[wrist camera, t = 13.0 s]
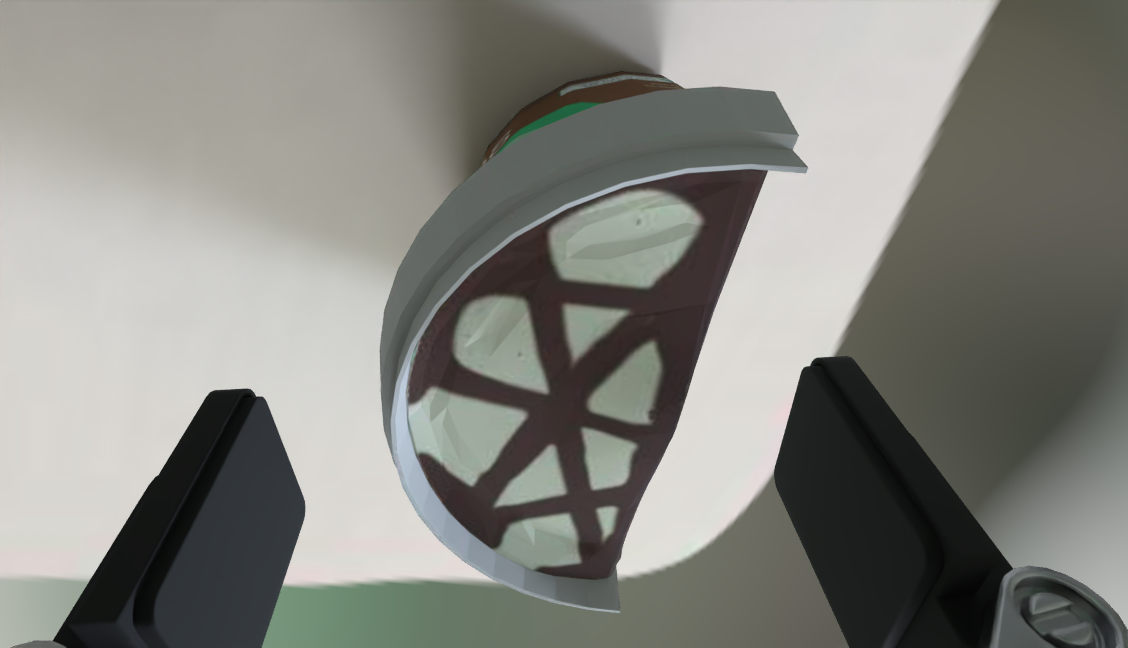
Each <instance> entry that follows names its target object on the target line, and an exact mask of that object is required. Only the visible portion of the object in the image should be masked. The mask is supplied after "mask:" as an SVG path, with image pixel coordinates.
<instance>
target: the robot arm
mask: <svg viewBox="0 0 1128 648" xmlns="http://www.w3.org/2000/svg"><path fill="white" fill-rule="evenodd" d="M774 478H775V484H776V487H777V490H778V492H779V494H780V497H781V499H782V501H783V503H784V505H785V508H786V510H787V512H788V514H789V516H790V518H791V521H792V523H793V525H794V527H795V529H796V532H797V534H798V536H799V538H800V540H801V543H802V545H803V547H804V549H805V551H806V554H807V556H808V558H809V560H810V562H811V565H812V567H813V569H814V571H815V573H816V575H817V578H818V580H819V582H820V584H821V586H822V589H823V591H824V593H825V595H826V597H827V599H828V602H829V604H830V606H831V608H832V611H833V613H834V615H835V617H836V619H837V621H838V624H839V626H840V628H841V630H842V632H843V635H844V637H845V639H846V641H847V643H848V646H849V648H1128V629H1127V628H1126V626H1125V624H1124V623H1123V621H1122V620H1121V618H1120V616H1119V615H1118V614H1117V613H1116V612H1115V611H1114V609H1113V608H1112V607H1111V606H1110V605H1109V604H1108V603H1107V602H1106V601H1105V600H1104V599H1103V598H1102V597H1100V596H1099V595H1098V594H1096V593H1095V592H1094V591H1093V590H1091V589H1090V588H1089V587H1087V586H1086V585H1084V584H1082V583H1081V582H1079V581H1077V580H1075V579H1073V578H1071V577H1069V576H1067V575H1065V574H1063V573H1060V572H1057V571H1054V570H1051V569H1048V568H1042V567H1034V566H1026V567H1019V568H1014V569H1013V568H1012V567H1011V565H1010V564H1009V563H1008V561H1007V560H1006V559H1005V558H1004V556H1003V555H1002V554H1001V552H1000V551H999V550H998V548H997V547H996V546H995V544H994V543H993V542H992V540H991V539H990V538H989V536H988V535H987V534H986V532H985V531H984V530H983V528H982V527H981V526H980V524H979V523H978V522H977V520H976V519H975V518H974V517H973V515H972V514H971V513H970V511H969V510H968V509H967V507H966V506H965V505H964V503H963V502H962V501H961V499H960V498H959V497H958V495H957V494H956V493H955V491H954V490H953V489H952V487H951V486H950V485H949V483H948V482H947V481H946V479H945V478H944V477H943V476H942V474H941V473H940V471H939V470H938V469H937V467H936V466H935V465H934V464H933V462H932V461H931V460H930V458H929V457H928V456H927V454H926V453H925V452H924V451H923V449H922V448H921V447H920V445H919V444H918V442H917V441H916V440H915V438H914V437H913V436H912V435H911V434H910V433H909V432H908V431H907V430H906V428H905V427H904V426H903V424H902V423H901V422H900V420H899V419H898V418H897V416H896V415H895V414H894V412H893V411H892V410H891V408H890V407H889V406H888V404H887V403H886V402H885V400H884V399H883V398H882V396H881V395H880V394H879V392H878V391H877V390H876V388H875V387H874V386H873V384H872V383H871V382H870V380H869V379H868V378H867V376H866V375H865V374H864V372H863V371H862V370H861V369H860V367H859V366H858V365H857V363H856V362H855V361H854V360H853V359H852V358H851V357H848V356H844V357H843V356H841V357H823V358H815V359H814V360H813V361H812V363H811V365H810V366H807V367H804V368H803V370H802V372H801V375H800V379H799V382H798V386H797V390H796V393H795V397H794V400H793V404H792V408H791V411H790V415H789V418H788V422H787V426H786V429H785V433H784V436H783V440H782V444H781V447H780V451H779V455H778V458H777V462H776V465H775V470H774ZM304 517H305V501H304V497H303V495H302V492H301V489H300V487H299V484H298V482H297V479H296V476H295V474H294V471H293V469H292V466H291V464H290V461H289V458H288V456H287V453H286V451H285V448H284V445H283V443H282V440H281V438H280V435H279V433H278V430H277V427H276V425H275V422H274V420H273V417H272V415H271V412H270V409H269V407H268V404H267V402H266V400H265V399H264V398H263V397H256V395H255V393H254V392H253V391H252V390H251V389H231V390H214V391H212V392H210V393H209V394H208V396H207V397H206V398H205V400H204V402H203V403H202V405H201V407H200V408H199V410H198V411H197V413H196V415H195V416H194V418H193V420H192V421H191V423H190V425H189V426H188V428H187V429H186V431H185V433H184V434H183V436H182V438H181V439H180V441H179V443H178V444H177V446H176V447H175V449H174V451H173V452H172V454H171V456H170V457H169V459H168V461H167V462H166V464H165V465H164V467H163V469H162V470H161V472H160V474H159V475H158V476H156V477H155V478H154V480H153V481H152V482H151V483H150V484H149V486H148V487H147V489H146V491H145V492H144V494H143V495H142V497H141V499H140V500H139V502H138V504H137V505H136V507H135V508H134V510H133V512H132V513H131V515H130V517H129V518H128V520H127V521H126V523H125V525H124V526H123V528H122V529H121V531H120V533H119V534H118V536H117V538H116V539H115V541H114V542H113V544H112V546H111V547H110V549H109V551H108V552H107V554H106V555H105V557H104V559H103V560H102V562H101V563H100V565H99V567H98V568H97V570H96V572H95V573H94V575H93V576H92V578H91V580H90V581H89V583H88V585H87V586H86V588H85V589H84V591H83V593H82V594H81V596H80V598H79V599H78V601H77V602H76V604H75V606H74V607H73V609H72V611H71V612H70V614H69V615H68V617H67V619H66V620H65V622H64V623H63V625H62V627H61V628H60V630H59V632H58V633H57V635H56V636H55V638H54V640H53V641H32V642H28V643H24V644H20V645H17V646H13V647H11V648H261V647H262V644H263V641H264V638H265V635H266V632H267V629H268V626H269V623H270V620H271V617H272V614H273V611H274V608H275V605H276V602H277V599H278V596H279V593H280V590H281V587H282V584H283V581H284V578H285V575H286V572H287V569H288V566H289V563H290V560H291V557H292V554H293V551H294V548H295V545H296V542H297V539H298V536H299V533H300V530H301V527H302V524H303V521H304Z"/></svg>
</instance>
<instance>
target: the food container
mask: <svg viewBox="0 0 1128 648" xmlns="http://www.w3.org/2000/svg"><path fill="white" fill-rule="evenodd" d="M798 136H799V135H798V133H797V131H796V130H795V128H794V126H793V124H792V122H791V120H790V119H789V117H788V115H787V113H786V111H785V110H784V108H783V106H782V104H781V102H780V101H779V99H778V97H777V95H776V93H775V92H772V91H761V90H750V89H739V88H728V87H706V88H691V89H684V88H683V87H681V86H679V85H678V84H676V83H674V82H673V81H671V80H669V79H667V78H666V77H664V76H662V75H655V74H644V73H633V72H623V71H621V72H616V73H611V74H606V75H601V76H596V77H591V78H586V79H581V80H576V81H571V82H567V83H566V84H564V85H562V86H560V87H559V88H557V89H555V90H553V91H552V92H550V93H548V94H546V95H545V96H543V97H541V98H539V99H538V100H536V101H534V102H532V103H531V104H529V105H527V106H525V107H524V108H522V109H521V110H520V111H519V112H518V113H517V114H516V116H515V117H514V118H513V119H512V120H511V121H510V122H509V123H508V125H507V126H506V127H505V128H504V129H503V130H502V131H501V132H500V134H499V135H498V136H497V137H496V138H495V139H494V140H493V142H492V143H491V144H490V145H489V146H488V149H487V151H486V153H485V156H484V158H483V160H482V163H481V165H480V167H479V169H478V170H477V171H476V172H475V173H474V174H472V175H471V176H470V177H469V178H468V179H466V180H465V181H464V182H463V183H462V184H461V185H459V186H458V187H457V188H456V189H455V190H454V191H452V193H451V194H450V195H449V196H448V197H447V199H446V200H445V201H444V202H443V203H442V205H441V206H440V207H439V208H438V209H437V211H436V212H435V213H434V214H433V215H432V216H431V218H430V219H429V220H428V221H427V222H426V224H425V225H424V226H423V227H422V228H421V230H420V231H419V233H418V235H417V237H416V238H415V240H414V242H413V244H412V245H411V247H410V249H409V251H408V253H407V254H406V256H405V258H404V260H403V261H402V263H401V265H400V267H399V269H398V271H397V274H396V277H395V280H394V283H393V286H392V289H391V292H390V295H389V298H388V301H387V304H386V307H385V310H384V318H383V326H382V334H381V343H380V374H381V400H382V412H383V425H384V432H385V435H386V438H387V442H388V445H389V448H390V452H391V455H392V458H393V462H394V464H395V466H396V468H397V470H398V473H399V477H400V480H401V483H402V486H403V489H404V490H405V492H406V494H407V496H408V498H409V500H410V501H411V503H412V505H413V507H414V509H415V510H416V512H417V514H418V516H419V517H420V518H421V519H422V521H423V522H424V523H425V524H426V525H427V527H428V528H429V529H430V530H431V531H432V533H433V534H434V535H435V536H436V537H437V539H438V540H439V541H440V542H441V543H443V544H444V545H445V546H446V547H447V548H448V549H450V550H451V551H452V552H453V553H454V554H455V555H457V556H458V557H459V558H460V559H461V560H462V561H464V562H465V563H467V564H469V565H470V566H472V567H473V568H475V569H477V570H478V571H480V572H481V573H483V574H485V575H486V576H488V577H489V578H491V579H493V580H495V581H497V582H500V583H502V584H504V585H506V586H508V587H511V588H513V589H515V590H517V591H519V592H522V593H525V594H528V595H531V596H535V597H537V598H540V599H544V600H547V601H550V602H553V603H557V604H563V605H568V606H572V607H578V608H583V609H588V610H597V611H606V612H615V613H620V602H619V592H618V581H617V570H616V564H617V563H618V561H619V560H620V558H621V553H622V547H623V544H624V541H625V538H626V535H627V532H628V530H629V527H630V525H631V522H632V520H633V517H634V515H635V512H636V510H637V507H638V505H639V503H640V501H641V498H642V496H643V494H644V492H645V490H646V488H647V486H648V484H649V482H650V480H651V478H652V476H653V474H654V473H655V471H656V469H657V467H658V465H659V463H660V461H661V459H662V457H663V455H664V453H665V451H666V449H667V447H668V445H669V442H670V441H671V439H672V437H673V434H674V432H675V430H676V427H677V424H678V421H679V418H680V415H681V412H682V408H683V405H684V402H685V399H686V396H687V393H688V390H689V386H690V383H691V379H692V376H693V373H694V369H695V366H696V363H697V360H698V357H699V354H700V351H701V348H702V345H703V342H704V339H705V336H706V333H707V330H708V327H709V324H710V321H711V318H712V315H713V312H714V309H715V307H716V304H717V302H718V299H719V296H720V294H721V291H722V288H723V286H724V283H725V281H726V278H727V275H728V273H729V270H730V268H731V265H732V262H733V260H734V257H735V255H736V252H737V249H738V247H739V244H740V242H741V239H742V236H743V234H744V231H745V229H746V226H747V223H748V221H749V218H750V216H751V213H752V211H753V208H754V205H755V203H756V200H757V198H758V195H759V192H760V190H761V187H762V185H763V182H764V180H765V177H766V174H767V172H768V170H770V171H783V172H796V173H806V172H807V169H808V167H807V166H806V165H805V163H804V162H803V161H802V160H801V159H800V158H799V157H798V156H797V154H796V153H795V152H794V151H793V148H794V146H795V143H796V141H797V138H798Z"/></svg>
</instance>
